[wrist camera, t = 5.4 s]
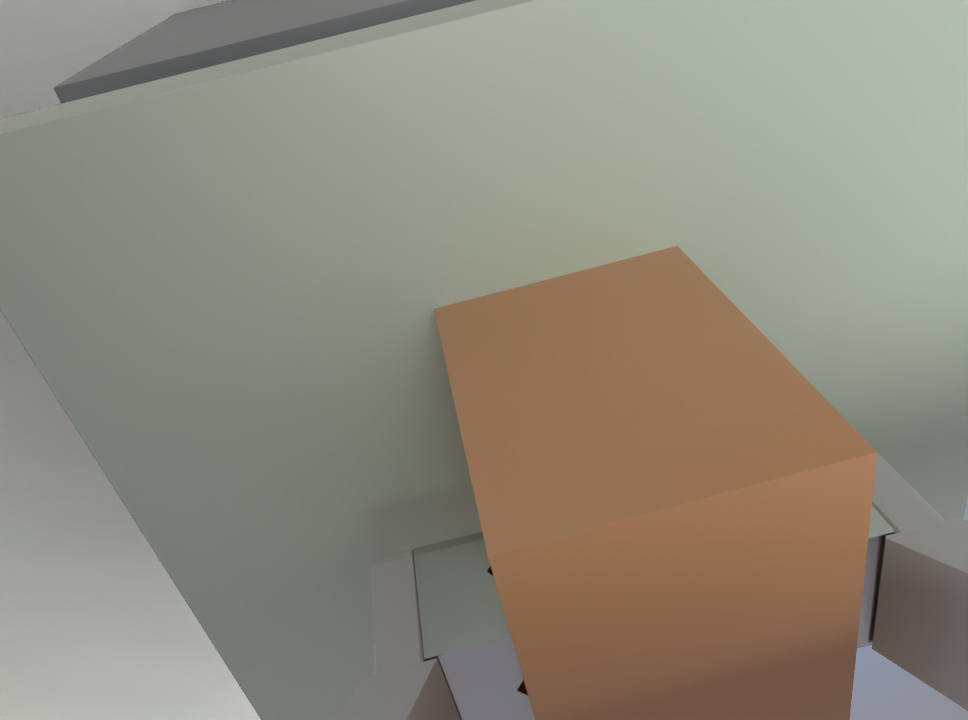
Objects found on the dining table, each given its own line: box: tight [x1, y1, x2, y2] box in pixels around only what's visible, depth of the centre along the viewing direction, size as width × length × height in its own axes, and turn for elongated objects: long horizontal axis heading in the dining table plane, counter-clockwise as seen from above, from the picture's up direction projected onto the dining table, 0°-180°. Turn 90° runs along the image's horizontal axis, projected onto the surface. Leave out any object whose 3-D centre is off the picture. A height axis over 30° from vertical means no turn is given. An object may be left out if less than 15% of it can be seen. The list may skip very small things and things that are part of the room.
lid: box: [0, 0, 968, 720], centre depth 10 cm, size 12×12×6 cm
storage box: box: [54, 0, 476, 104], centre depth 17 cm, size 12×12×8 cm
